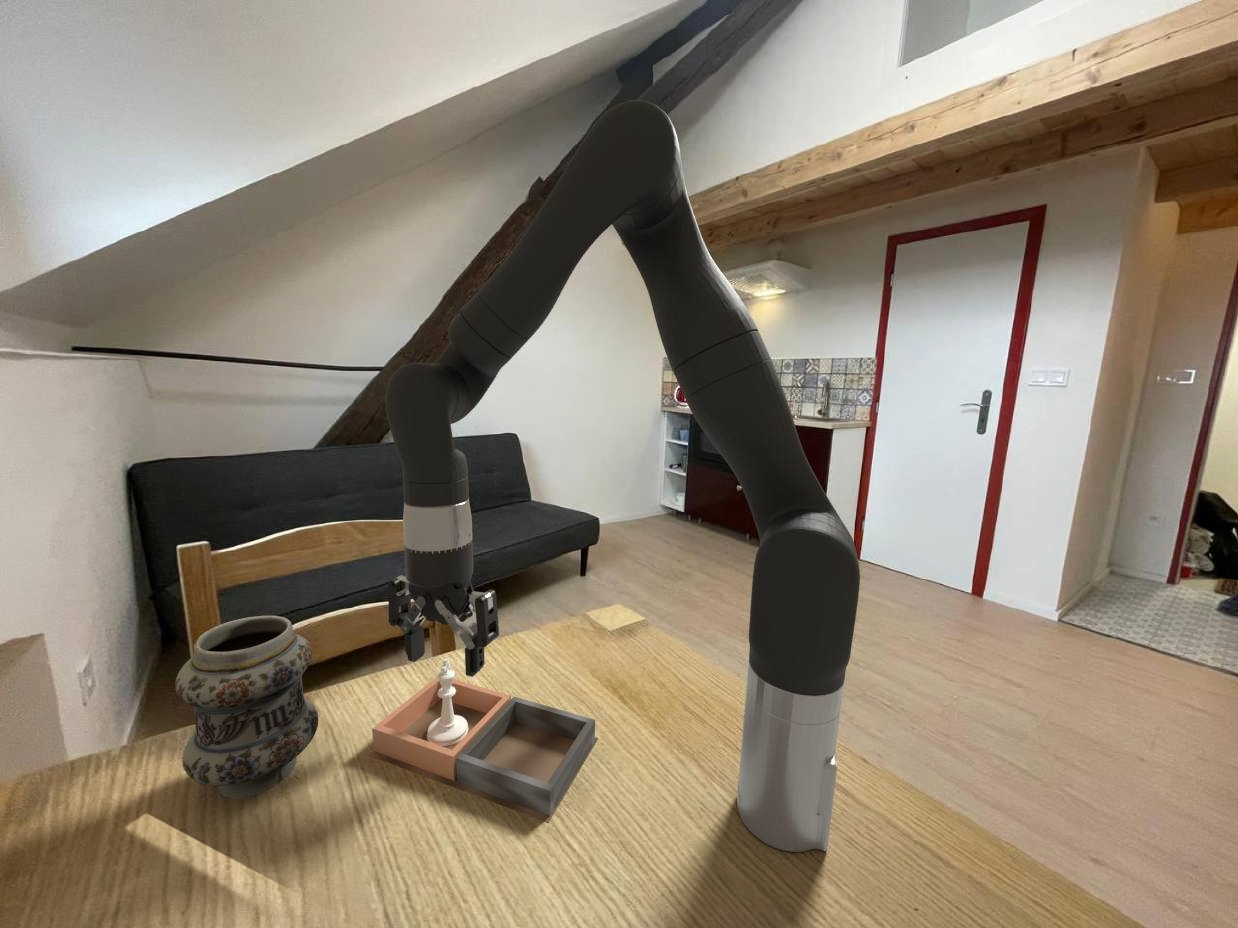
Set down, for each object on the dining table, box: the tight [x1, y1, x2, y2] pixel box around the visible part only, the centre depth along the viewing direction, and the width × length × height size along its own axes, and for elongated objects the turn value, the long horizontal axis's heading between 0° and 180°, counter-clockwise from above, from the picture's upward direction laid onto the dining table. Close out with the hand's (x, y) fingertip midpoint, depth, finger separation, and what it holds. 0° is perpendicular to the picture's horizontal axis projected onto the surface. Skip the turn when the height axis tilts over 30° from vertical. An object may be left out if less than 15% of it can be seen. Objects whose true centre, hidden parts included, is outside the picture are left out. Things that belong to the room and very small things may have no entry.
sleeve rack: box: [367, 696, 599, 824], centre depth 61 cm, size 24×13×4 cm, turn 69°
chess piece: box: [427, 658, 468, 747], centre depth 62 cm, size 5×5×10 cm
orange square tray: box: [371, 675, 512, 781], centre depth 63 cm, size 12×12×3 cm
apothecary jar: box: [174, 615, 320, 800], centre depth 55 cm, size 12×12×18 cm
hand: (444, 665), depth 61 cm, fingers open, 8 cm apart
